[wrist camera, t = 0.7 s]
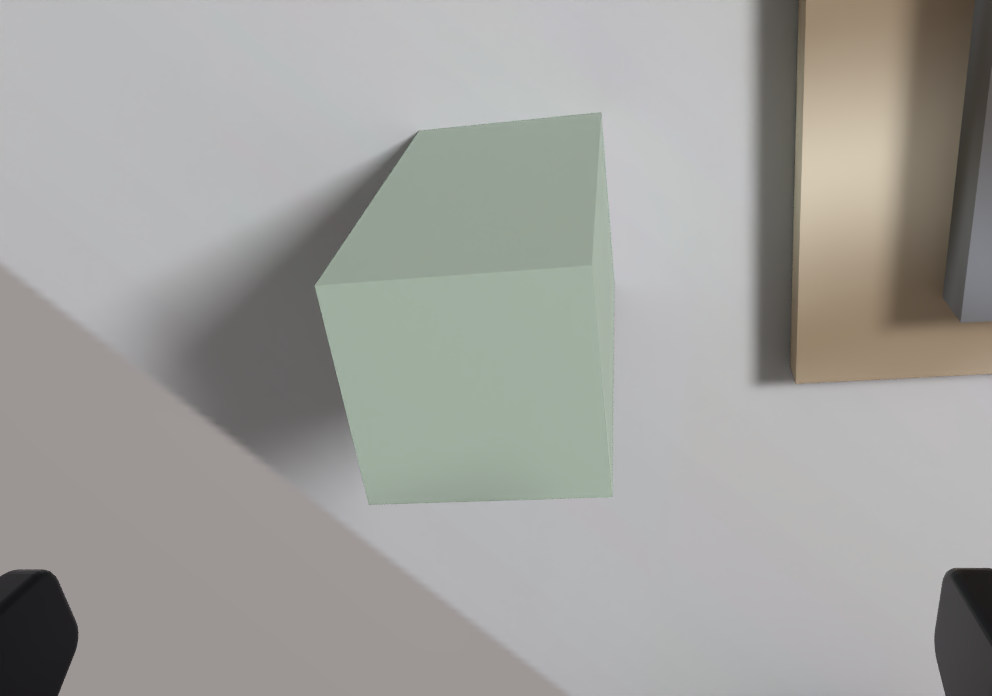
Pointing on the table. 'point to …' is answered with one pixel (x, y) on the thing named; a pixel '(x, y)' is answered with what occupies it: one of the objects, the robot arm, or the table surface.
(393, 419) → the block
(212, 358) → the table surface
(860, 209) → the board
